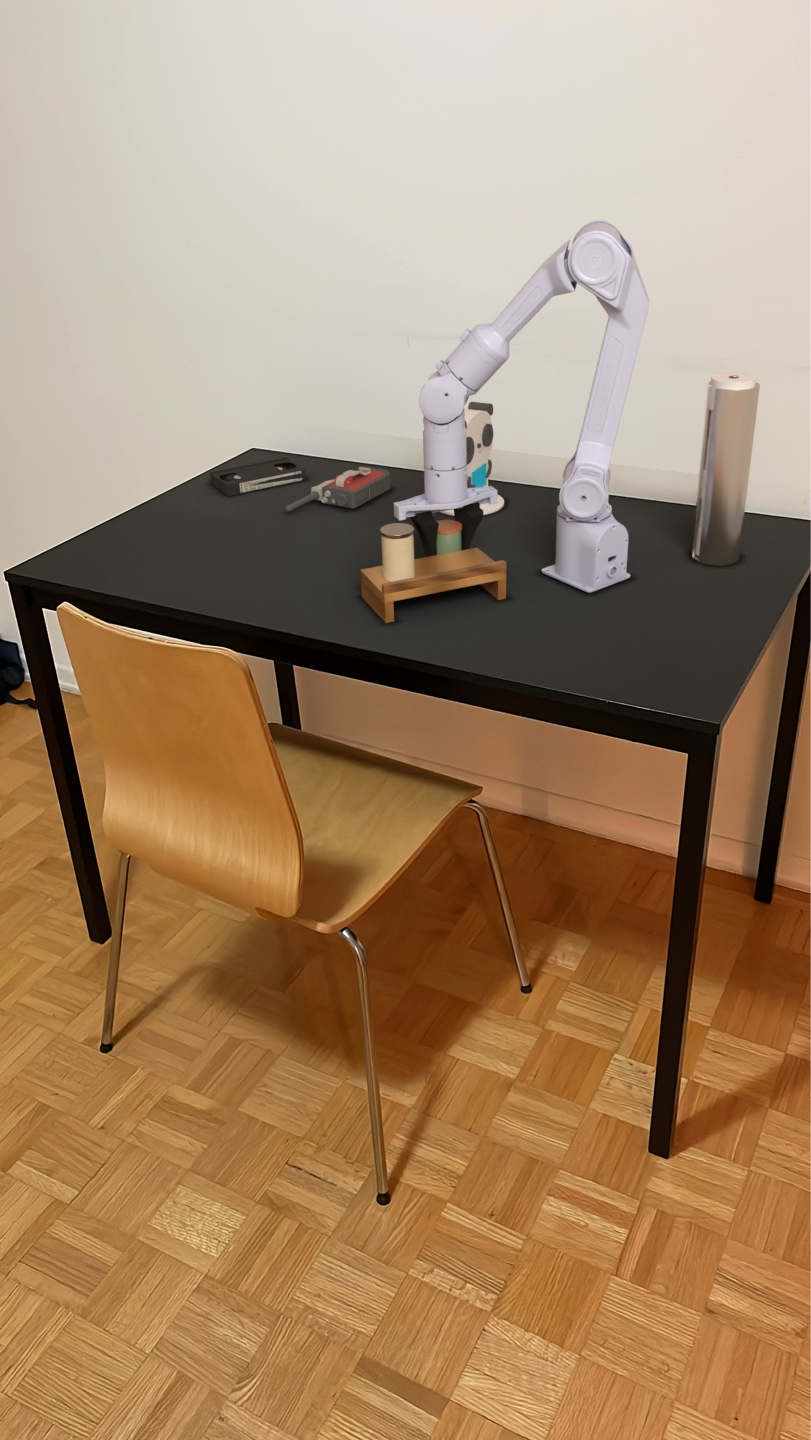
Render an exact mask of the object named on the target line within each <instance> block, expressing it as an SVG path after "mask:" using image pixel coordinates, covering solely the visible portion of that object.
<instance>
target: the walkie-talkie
mask: <svg viewBox="0 0 811 1440" xmlns="http://www.w3.org/2000/svg"><path fill="white" fill-rule="evenodd" d="M390 490H391V474H390V472H389V471H388V470H387V469H382V468H377V467H371V466H358V469H356V470H353V469H348V470H346V471H343V472H342V473H341V474H339V475H336V477H335V478H334V479H329V480H328V479H327V480H325V481H323V482H321V483H320V484H317V485H315V486H312V487H311V488H310V492H309V494H307V495H305V496H304V497H301V498H300V499H298V500H296V501H293V502H291V503H289V504H288V505H286V506H285V511H286V512H287V513H290V512H292V511H294V510H296V509H298V508H300V507H303V506H304V505H306V504H308V503H310V502H312V501H321V503H322V504H325V505H328V506H334V507H340V508H345V509H350V510H353V509H356V508H358V507H360V506H362V505H363V504H365V503H367V502H369V501H371V500H373V499H374V498H377V497H378V496H380V495H382V494H384V493H385V492H387V491H390Z"/></svg>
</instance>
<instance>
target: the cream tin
mask: <svg viewBox="0 0 811 1440" xmlns="http://www.w3.org/2000/svg"><path fill="white" fill-rule="evenodd" d="M414 533H415V526H414V525H411V524H410V523H409V524H408V523H404V522H394V523H389V524H385V525H383V526H382V527H380V529H379V534H380V539H381V562H382V565H383V578H384V579H385V580H386V581H389V582H393V581H398V580H404V579H409V578H414V577H415V566H414V559H415V541H414V538H415V537H414Z"/></svg>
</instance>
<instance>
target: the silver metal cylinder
mask: <svg viewBox="0 0 811 1440" xmlns="http://www.w3.org/2000/svg"><path fill="white" fill-rule="evenodd" d="M760 386H761V384H760V383H759V382H757V377H756V376H755V375H753V374H750V373H746V372H740V371H739V372H738V371H727V372H726V371H725V372H724V371H723V372H718V373H714V374H712V375H711V377H710V380H709V382H708V383H707V390H706V400H705V411H704V421H703V429H702V431H703V432H702V441H701V451H700V460H699V461H700V462H699V472H698V480H697V481H698V484H697V490H696V491H697V492H696V503H695V513H694V523H693V532H692V533H693V534H692V544H691V551H690V553H691V554H690V556H691V558H692V559H693V560H694V561H695V562H696V563H699V564H702V565H706V566H711V567H712V566H713V567H724V566H730V565H733V564H735V563H737V562H738V561H739V559H740V554H741V553H740V552H741V546H742V545H741V543H742V537H743V530H744V529H743V527H744V520H745V513H746V512H745V511H746V503H747V502H746V501H747V496H748V495H747V494H748V487H749V480H750V479H749V478H750V472H751V471H750V470H751V463H752V453H753V445H754V438H755V428H756V420H757V411H758V404H759V397H760V396H759V395H760V388H761V387H760Z"/></svg>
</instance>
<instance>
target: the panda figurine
mask: <svg viewBox="0 0 811 1440" xmlns="http://www.w3.org/2000/svg"><path fill="white" fill-rule="evenodd" d="M493 405H494V404H493V403H489V402H479V401H470V402H468V406H467V408H464V410H465V428H466V452H467V488H478V487H488V486H489V477H490V475H491V473H492V469H493V461H492V459H490V457H491V454H492V448H493V441H494V426H493V422H492V418H491V417H492V416H493V414H494V406H493ZM504 506H505V499H504V498H503V497H502V495H500V494H498V493H497V504H489V503H486V504H481V505H480V508H481V509H482V510H483V516H485V515H489V514H493V513H497V512H498V511H500V510H501V509H503V507H504ZM440 513H441V514H445V515H448V516H454V517H455V515H454V509H452V510H447V511H441V512H440Z"/></svg>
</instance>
